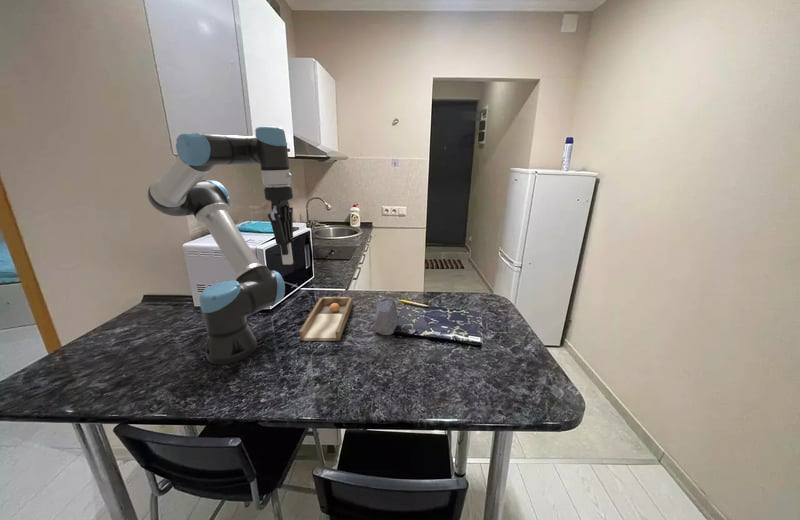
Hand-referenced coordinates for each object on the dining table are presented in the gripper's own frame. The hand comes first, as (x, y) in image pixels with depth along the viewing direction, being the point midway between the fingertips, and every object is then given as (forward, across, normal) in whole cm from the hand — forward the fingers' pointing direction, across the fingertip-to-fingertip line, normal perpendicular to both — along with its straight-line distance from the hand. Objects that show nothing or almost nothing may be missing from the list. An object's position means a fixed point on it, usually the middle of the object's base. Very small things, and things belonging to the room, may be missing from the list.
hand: (288, 263), depth 94 cm
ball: (+28, +24, -7) cm, 38 cm away
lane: (+30, +18, -6) cm, 36 cm away
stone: (+31, +11, -29) cm, 44 cm away
